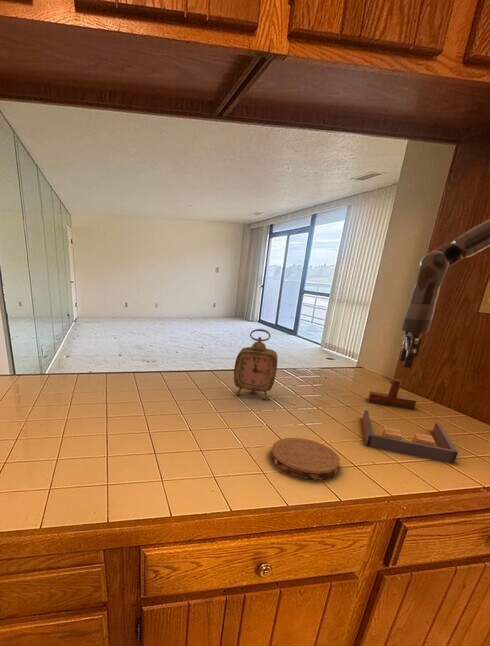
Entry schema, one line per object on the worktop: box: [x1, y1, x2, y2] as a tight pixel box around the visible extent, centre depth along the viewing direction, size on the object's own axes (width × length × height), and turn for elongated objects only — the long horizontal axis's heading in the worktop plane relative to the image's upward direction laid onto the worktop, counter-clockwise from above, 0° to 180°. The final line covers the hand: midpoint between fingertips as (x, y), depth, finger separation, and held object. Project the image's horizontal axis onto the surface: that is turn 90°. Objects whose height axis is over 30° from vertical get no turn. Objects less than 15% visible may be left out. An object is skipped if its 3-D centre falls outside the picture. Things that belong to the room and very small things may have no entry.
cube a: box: [381, 426, 403, 440], centre depth 97 cm, size 4×4×4 cm
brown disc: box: [270, 437, 340, 483], centre depth 87 cm, size 16×16×3 cm
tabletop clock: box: [233, 328, 279, 401], centre depth 126 cm, size 14×9×25 cm, turn 70°
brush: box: [367, 378, 417, 411], centre depth 123 cm, size 14×3×10 cm, turn 65°
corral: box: [361, 410, 459, 464], centre depth 100 cm, size 19×20×4 cm
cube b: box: [411, 432, 436, 446], centre depth 94 cm, size 4×4×4 cm
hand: (405, 364), depth 120 cm, fingers open, 8 cm apart
